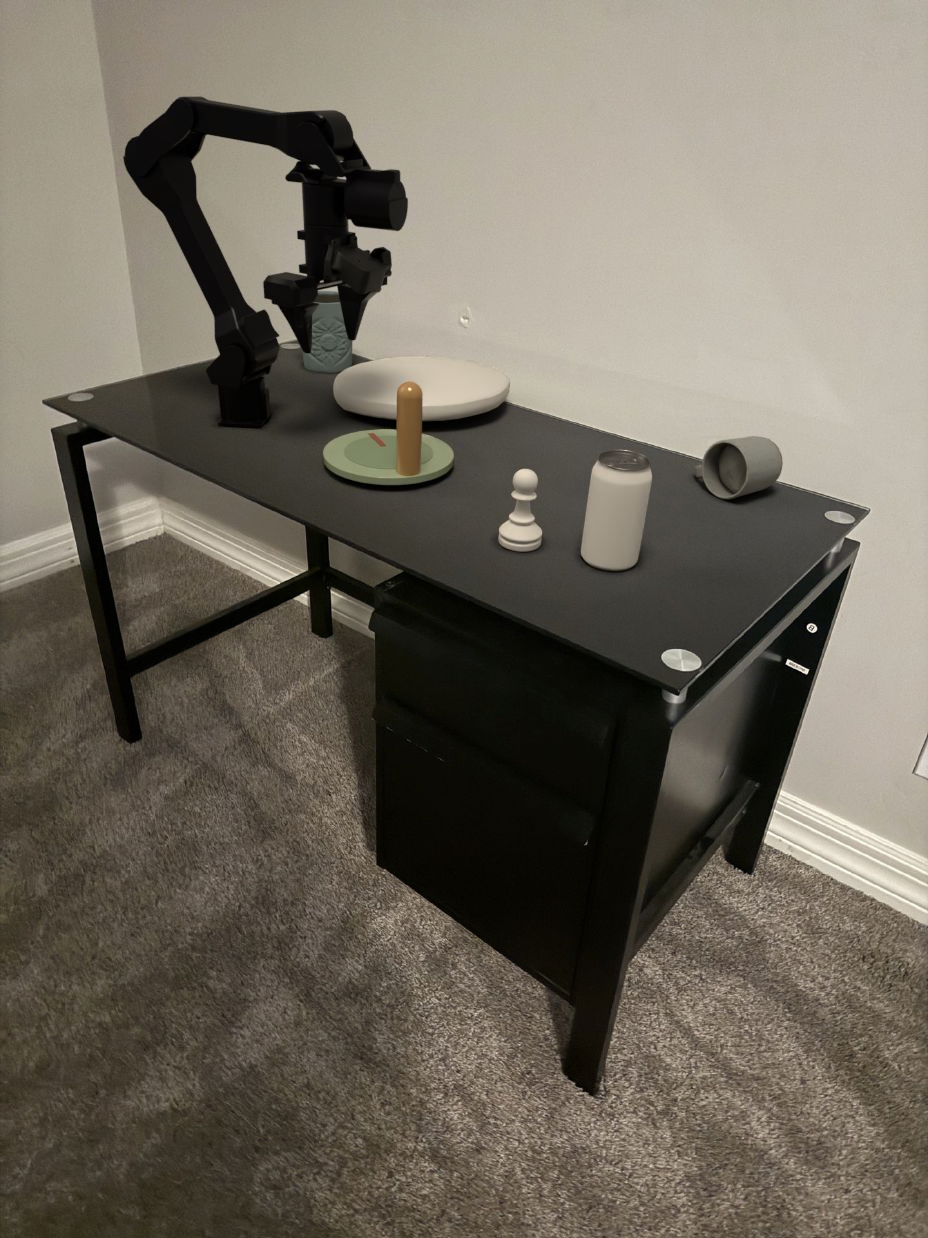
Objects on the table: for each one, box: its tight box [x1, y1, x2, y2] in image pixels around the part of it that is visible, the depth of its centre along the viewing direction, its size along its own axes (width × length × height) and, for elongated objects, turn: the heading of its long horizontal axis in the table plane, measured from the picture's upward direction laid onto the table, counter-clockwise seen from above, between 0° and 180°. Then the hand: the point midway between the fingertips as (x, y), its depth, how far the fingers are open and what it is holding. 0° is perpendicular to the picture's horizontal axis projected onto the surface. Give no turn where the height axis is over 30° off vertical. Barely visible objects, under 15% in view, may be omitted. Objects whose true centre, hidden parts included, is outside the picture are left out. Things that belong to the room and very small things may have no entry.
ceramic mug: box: [694, 435, 784, 500], centre depth 116 cm, size 11×8×8 cm
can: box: [580, 449, 653, 572], centre depth 96 cm, size 6×6×12 cm
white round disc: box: [332, 355, 511, 422], centre depth 139 cm, size 28×6×27 cm
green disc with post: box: [322, 382, 455, 486], centre depth 115 cm, size 18×18×13 cm
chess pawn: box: [497, 468, 543, 553], centre depth 99 cm, size 5×5×9 cm
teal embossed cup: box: [301, 290, 353, 374], centre depth 153 cm, size 10×10×12 cm
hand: (330, 346), depth 120 cm, fingers open, 9 cm apart
